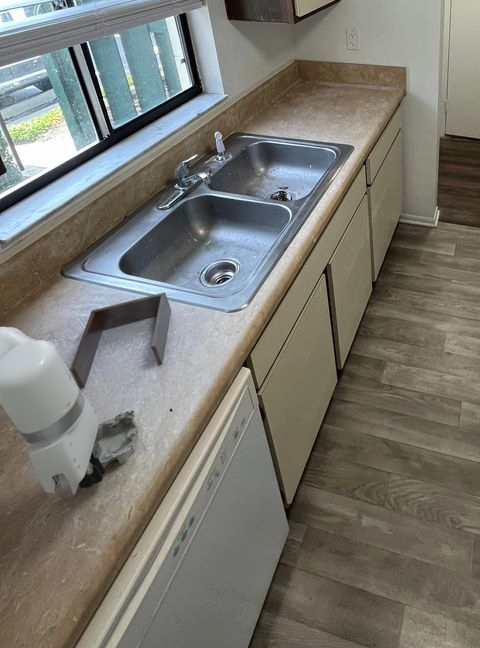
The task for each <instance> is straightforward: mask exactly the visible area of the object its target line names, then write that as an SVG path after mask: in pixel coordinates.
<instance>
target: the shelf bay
mask: <svg viewBox="0 0 480 648" xmlns="http://www.w3.org/2000/svg"><path fill="white" fill-rule="evenodd" d="M171 314H172V307H171V305H170V302H169V299H168V296H167V294H166V291H164V292H160V293H156V294H152V295H148V296H145V297H139V298H136V299H132V300H129V301H125V302H119V303H116V304H113V305H109V306H104V307H101V308H97V309H93V310H91V311H90V314H89V317H88V320H87V322H86V325H85V328H84V331H83V333H82V336H81V339H80V341H79V344H78V347H77V350H76V352H75V356H74V359H73V361H72V363H71V367H70V370H69V371H70V373H71V375H72V377H73V379H74V380H75V382H76V384H77V386H78V388H79V389H80V390H81V389H84V388H86V384H87V380H88V378H89V375H90V371H91V368H92V366H93V362H94V359H95V356H96V353H97V349H98V347H99V346H98V345H99V343H100V341H101V336H102V334H103V331H105V330H106V331H107V330H110V329H114V328H117V327H121V326H124V325H128V324H132V323H136V322H140V321H143V319H144V320H147V319H151V318H154V317H156V320H155V323H154V324H155V326H154V329H153V335H152V340H151V345H150V348H151V350H152V353H153V356H154V358H155V361H156V363H157V366H162V365H163V363H164V356H165V352H166V351H165V350H166V344H167V338H168V332H169V326H170V325H169V324H170V321H171Z"/></svg>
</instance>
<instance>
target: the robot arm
mask: <svg viewBox="0 0 480 648" xmlns="http://www.w3.org/2000/svg"><path fill="white" fill-rule="evenodd" d="M0 405H1V407H2V408H3V410H4V411H5V413H6V414H7V415H8V417H9V418H10V420H11V422H12V423H13V424H14V426H15V427H16V429H17V430H18V432H19V433H20V435H21V436H22V438H23V439H24V440H25V442H26V443H27V444H28V450H27V452H28V456H29V460H30V463H31V467H32V469H33V472H34V473H35V476H36V478H37V480H38V481H39V483H40V486H41V487H42V489H43V490H44V492H46V494H52V493H55V492H56V489H57V486H58V485H59V486H60V490H61V492H62V496H63V498H64V499H66V498H69V497H72V496H74V495H76V492H77V490H78V487H79V488H80V489H88V488H90V487H93V486H94V485H96V484H99V483H101V482H102V481H103V479H104V474H105V471H106V468H105V469H104V467H103V465H102V463H101V462H100V460H99V458H96V457H97V449H96V446H95V443H94V442H95V438H96V435H97V431H98V426H99V424H100V418H99V416H98V414H97V411H96V409H95V408H94V406H93V405H92V403H91V402H90V400H89V399H88V398H87V397H86V396H85V394H83V393H82V391H81V389H80V387H79V385H78V383H77V381H76V380H75V378H74V376H73V374H72V372H71V370H69V368H68V366H67V364H66V362H65V360H64V358H63V356H62V354H61V353H60V351H59V349H58V348H57V346H56V345H55V344H54V343H53V342H51V341H49V340H45V339H34V338H32V337H30V336H28V335H27V334H25V333H24V332H22V330H20V329H19V328H15V327H13V326H0Z"/></svg>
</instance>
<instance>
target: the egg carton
mask: <svg viewBox="0 0 480 648" xmlns="http://www.w3.org/2000/svg"><path fill="white" fill-rule="evenodd" d="M134 419H135V410H132V409H131V410H130V411H125V412H121V413H119V414H117V415H116V416H115V417H114V418H111V419H107V420H106V421H103V422H100V423H99V426H98V431H97V435H96V438H95V442H94V443H95V446H96V449H97V457H96V458H99V460H100V462H101V463H102V465H103V467H104V469H105V470H106V468H107V466H108V465H109V464H110V463H111V462H112V461H115V460H117V461H118V464H124V463H125V462H127V460H128V459H129V457H131V455H132V454H133V453H134V452H135V450H136V447H137V446H136V444H135V441H134V435H136V434H138V432H139V426H138V424H137V422H136V420H134Z"/></svg>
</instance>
